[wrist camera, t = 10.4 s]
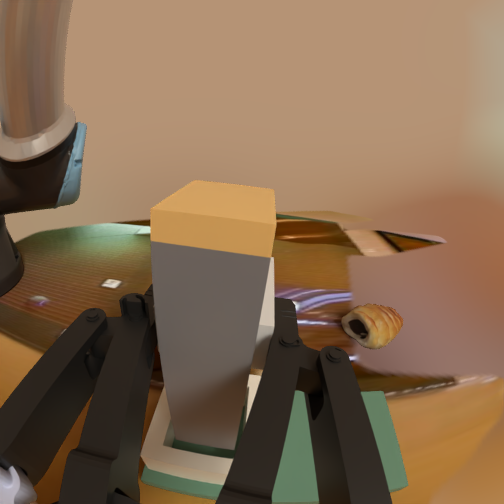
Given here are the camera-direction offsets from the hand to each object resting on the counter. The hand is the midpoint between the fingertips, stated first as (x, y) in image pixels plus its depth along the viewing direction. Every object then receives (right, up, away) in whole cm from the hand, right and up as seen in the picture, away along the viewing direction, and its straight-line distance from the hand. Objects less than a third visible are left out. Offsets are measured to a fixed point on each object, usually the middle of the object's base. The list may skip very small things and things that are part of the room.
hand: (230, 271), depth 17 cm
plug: (-1, -9, -2) cm, 10 cm away
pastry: (+17, -10, +16) cm, 25 cm away
